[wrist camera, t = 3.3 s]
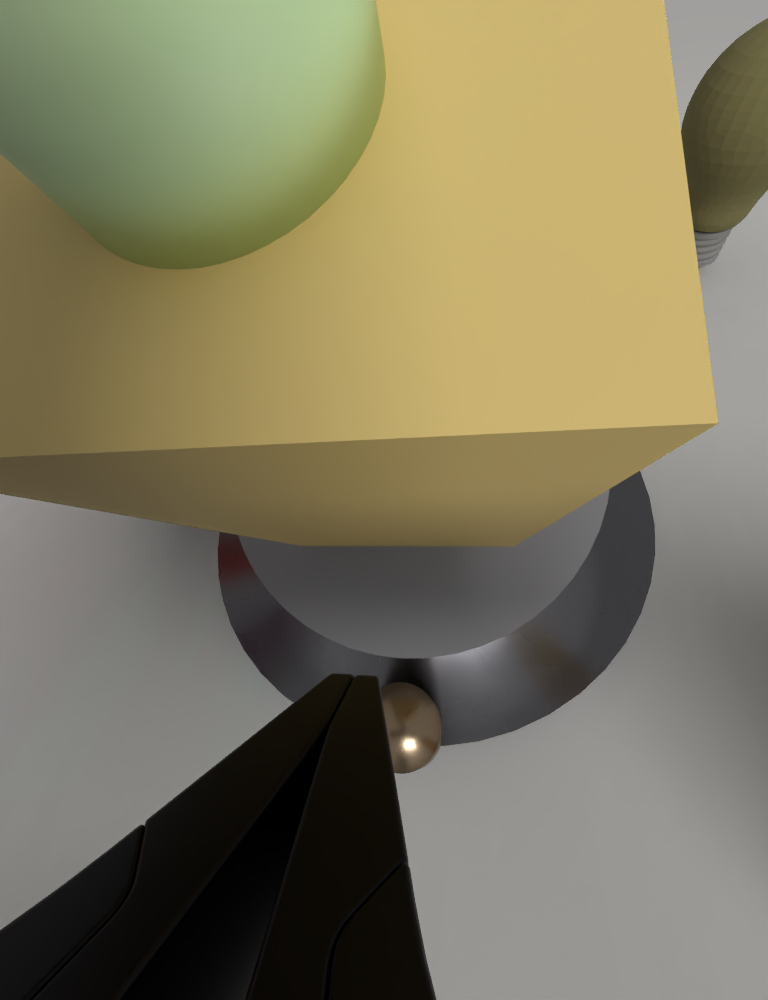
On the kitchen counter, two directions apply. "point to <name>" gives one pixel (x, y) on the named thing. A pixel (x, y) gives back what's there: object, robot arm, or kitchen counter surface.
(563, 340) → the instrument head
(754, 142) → the light bulb
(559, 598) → the base
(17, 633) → the kitchen counter surface
